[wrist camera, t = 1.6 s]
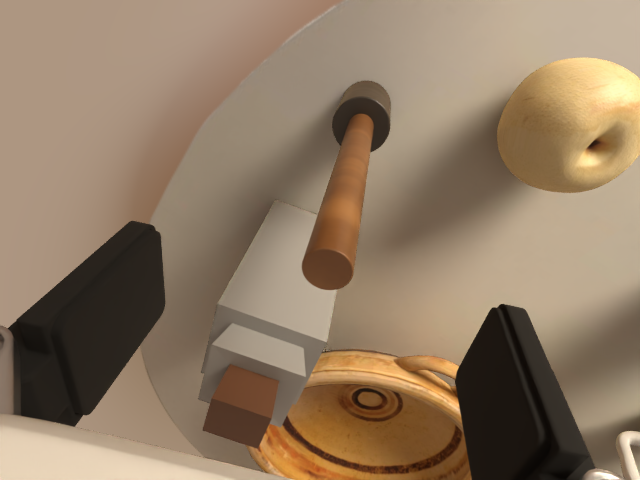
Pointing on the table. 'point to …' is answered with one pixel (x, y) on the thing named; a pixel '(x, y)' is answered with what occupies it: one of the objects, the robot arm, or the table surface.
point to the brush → (346, 185)
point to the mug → (628, 453)
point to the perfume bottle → (265, 331)
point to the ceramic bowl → (370, 422)
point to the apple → (572, 125)
